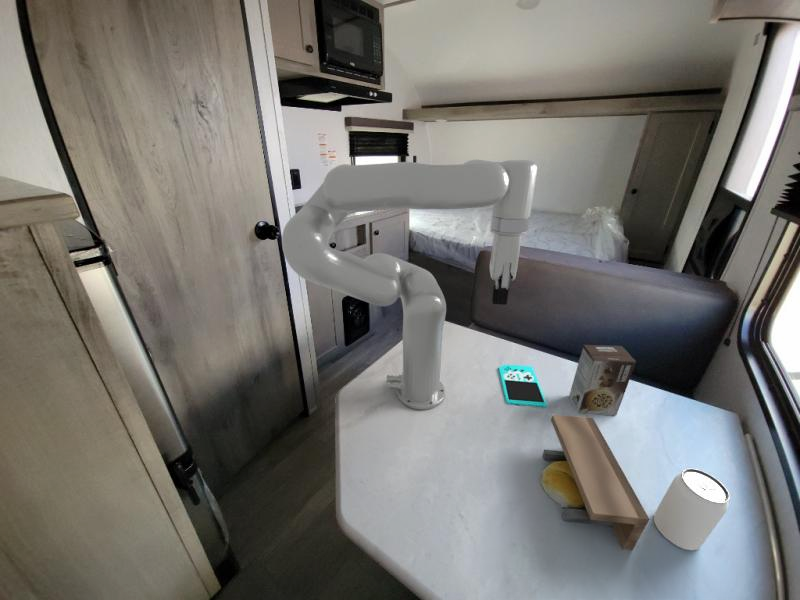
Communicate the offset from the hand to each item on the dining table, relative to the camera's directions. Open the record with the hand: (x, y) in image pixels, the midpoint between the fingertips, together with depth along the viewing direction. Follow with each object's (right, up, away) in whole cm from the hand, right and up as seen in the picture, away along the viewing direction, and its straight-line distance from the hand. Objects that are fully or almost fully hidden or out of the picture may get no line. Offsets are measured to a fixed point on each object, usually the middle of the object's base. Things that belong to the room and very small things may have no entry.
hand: (499, 302), depth 75 cm
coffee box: (+25, -26, +6) cm, 37 cm away
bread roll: (+9, -36, -14) cm, 39 cm away
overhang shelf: (+12, -35, -14) cm, 40 cm away
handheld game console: (+10, -23, +13) cm, 28 cm away
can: (+24, -39, -20) cm, 50 cm away
